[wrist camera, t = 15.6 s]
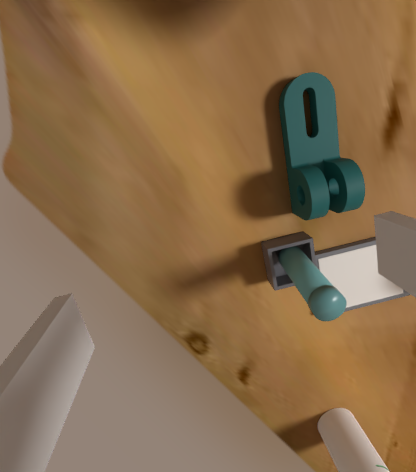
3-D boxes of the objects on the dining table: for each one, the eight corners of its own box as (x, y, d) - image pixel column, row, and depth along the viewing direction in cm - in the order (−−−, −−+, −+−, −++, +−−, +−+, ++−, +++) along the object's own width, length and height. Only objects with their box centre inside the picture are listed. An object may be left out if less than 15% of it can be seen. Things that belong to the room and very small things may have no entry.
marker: (272, 241, 46) (313, 296, 33) (297, 236, 46) (347, 289, 33) (274, 263, 47) (313, 324, 35) (298, 258, 48) (346, 317, 35)
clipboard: (310, 253, 48) (315, 257, 46) (402, 230, 48) (410, 233, 47) (318, 313, 51) (323, 319, 50) (404, 291, 52) (412, 296, 50)
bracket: (335, 202, 46) (366, 214, 39) (291, 212, 46) (314, 225, 39) (324, 71, 41) (358, 55, 33) (275, 81, 41) (297, 67, 33)
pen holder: (261, 241, 47) (267, 249, 43) (303, 231, 47) (312, 238, 44) (268, 280, 49) (274, 290, 45) (308, 270, 49) (318, 279, 45)
